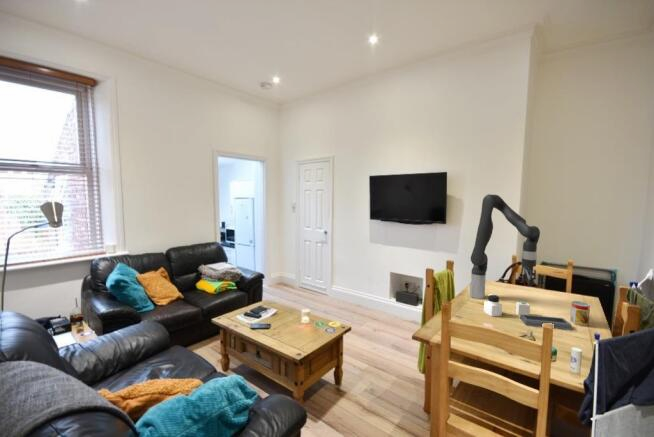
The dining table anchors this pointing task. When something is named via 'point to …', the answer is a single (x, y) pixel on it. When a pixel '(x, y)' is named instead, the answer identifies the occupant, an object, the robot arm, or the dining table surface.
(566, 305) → the dining table surface
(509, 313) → the dining table surface
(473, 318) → the dining table surface
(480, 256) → the robot arm
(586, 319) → the canned food
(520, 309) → the block
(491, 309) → the medicine bottle
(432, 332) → the dining table surface
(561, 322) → the grey rectangular tray
